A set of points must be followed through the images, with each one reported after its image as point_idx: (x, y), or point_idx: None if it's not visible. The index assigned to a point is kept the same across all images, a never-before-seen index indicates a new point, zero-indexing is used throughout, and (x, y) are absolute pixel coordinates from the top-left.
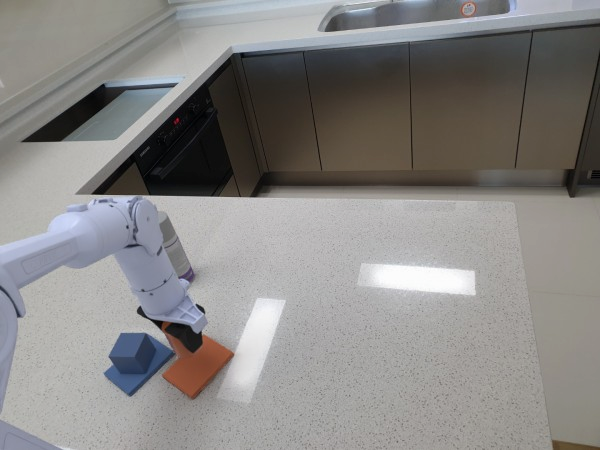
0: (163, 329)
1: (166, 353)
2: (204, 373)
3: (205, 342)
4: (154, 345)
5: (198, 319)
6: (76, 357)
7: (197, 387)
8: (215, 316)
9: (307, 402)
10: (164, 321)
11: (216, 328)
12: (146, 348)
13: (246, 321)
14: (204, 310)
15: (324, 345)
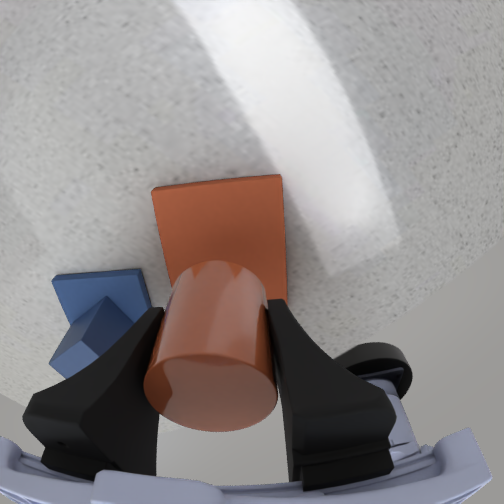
0: (197, 427)
1: (132, 287)
2: (266, 266)
3: (181, 206)
4: (91, 291)
5: (475, 491)
6: (35, 363)
7: (283, 297)
8: (115, 122)
9: (487, 176)
10: (162, 412)
11: (154, 146)
12: (111, 338)
13: (213, 69)
14: (387, 402)
15: (449, 39)
